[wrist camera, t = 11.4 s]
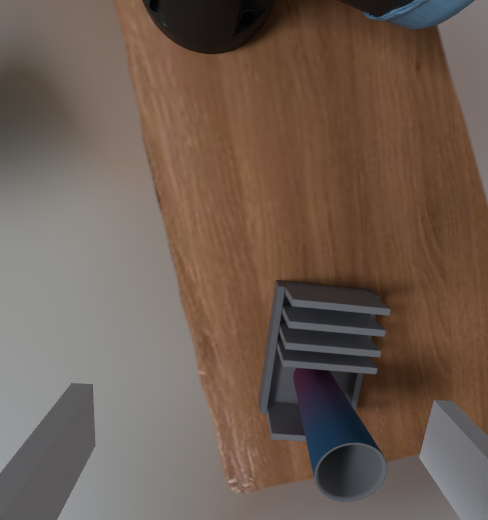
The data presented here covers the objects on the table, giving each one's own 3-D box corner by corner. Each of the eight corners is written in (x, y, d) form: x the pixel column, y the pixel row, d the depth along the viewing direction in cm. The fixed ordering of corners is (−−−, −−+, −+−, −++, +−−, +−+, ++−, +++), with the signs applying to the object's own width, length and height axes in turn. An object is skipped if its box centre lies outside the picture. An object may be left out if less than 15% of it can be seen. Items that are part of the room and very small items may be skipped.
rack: (275, 280, 42) (285, 298, 35) (371, 290, 43) (398, 309, 36) (258, 400, 46) (263, 438, 39) (346, 407, 47) (367, 445, 40)
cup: (344, 364, 44) (401, 456, 29) (321, 403, 45) (364, 510, 31) (300, 346, 43) (336, 433, 28) (278, 387, 44) (301, 489, 30)
